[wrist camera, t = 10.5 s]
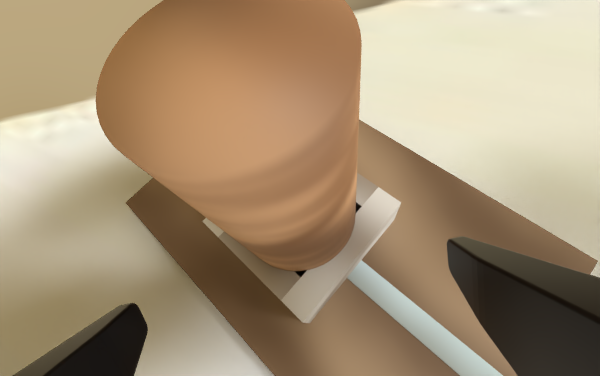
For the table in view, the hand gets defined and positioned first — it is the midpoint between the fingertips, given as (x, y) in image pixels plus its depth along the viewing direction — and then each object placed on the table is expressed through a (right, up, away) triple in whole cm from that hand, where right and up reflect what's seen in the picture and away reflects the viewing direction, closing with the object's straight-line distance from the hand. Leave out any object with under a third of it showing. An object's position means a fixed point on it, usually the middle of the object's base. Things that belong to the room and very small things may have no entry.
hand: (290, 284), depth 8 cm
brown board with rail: (+2, 0, +9) cm, 9 cm away
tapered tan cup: (+1, 0, +9) cm, 9 cm away
